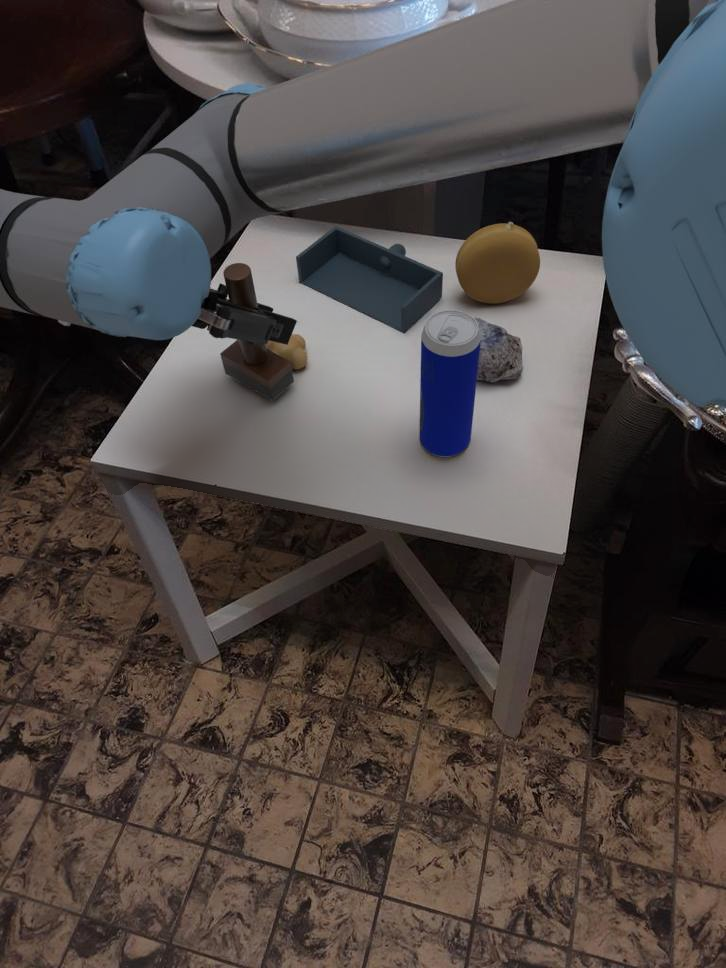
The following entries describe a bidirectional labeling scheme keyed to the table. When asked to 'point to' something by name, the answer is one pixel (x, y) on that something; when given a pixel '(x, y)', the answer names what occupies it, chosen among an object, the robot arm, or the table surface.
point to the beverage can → (448, 381)
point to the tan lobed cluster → (291, 350)
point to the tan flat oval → (497, 263)
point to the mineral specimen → (498, 353)
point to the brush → (245, 359)
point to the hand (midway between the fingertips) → (277, 325)
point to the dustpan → (370, 278)
